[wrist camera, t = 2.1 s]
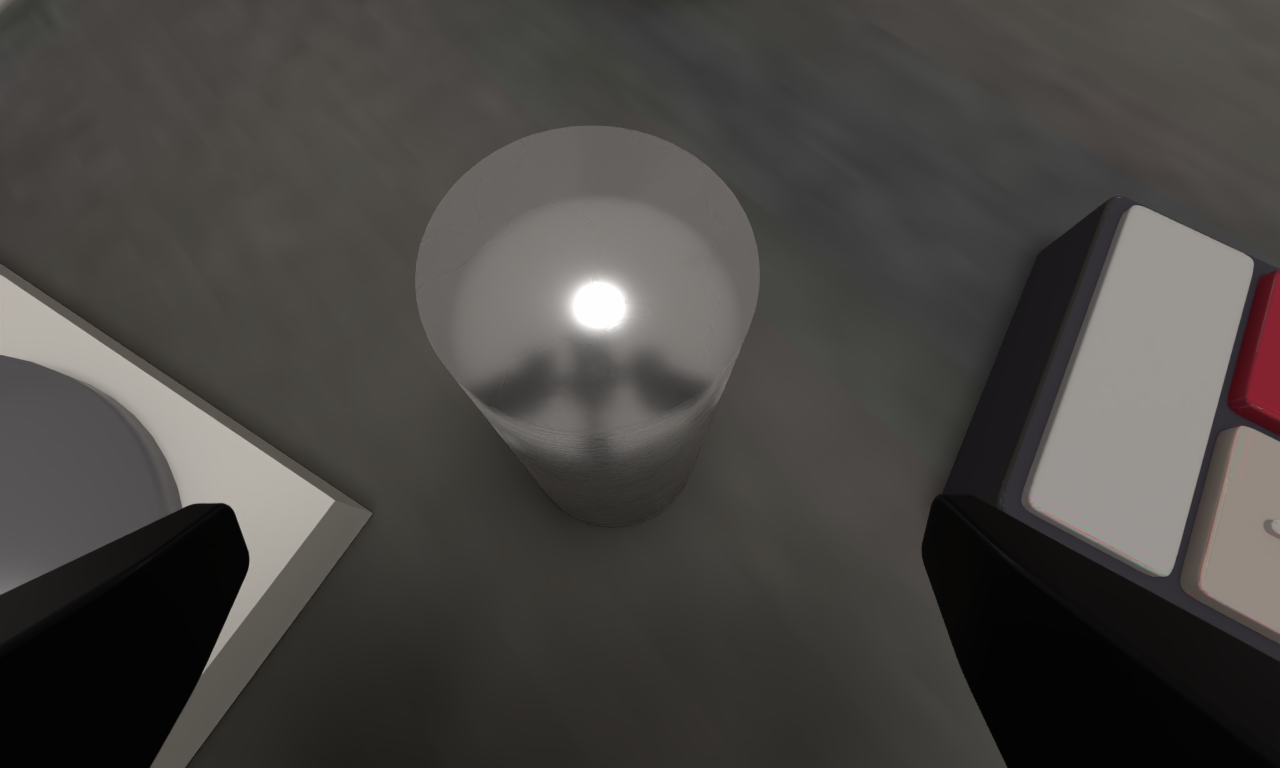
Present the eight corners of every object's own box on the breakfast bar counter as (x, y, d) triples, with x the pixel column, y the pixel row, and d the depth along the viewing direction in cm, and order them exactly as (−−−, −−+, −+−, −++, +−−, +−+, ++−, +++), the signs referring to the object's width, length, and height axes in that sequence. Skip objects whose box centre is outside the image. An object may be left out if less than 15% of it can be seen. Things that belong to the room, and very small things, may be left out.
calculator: (1675, 863, 13) (1012, 509, 15) (1425, 799, 18) (925, 526, 19) (1682, 426, 17) (1133, 172, 18) (1468, 457, 21) (1037, 248, 22)
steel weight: (640, 560, 18) (646, 502, 8) (500, 471, 19) (343, 315, 9) (723, 419, 20) (818, 215, 10) (589, 342, 21) (542, 78, 10)
